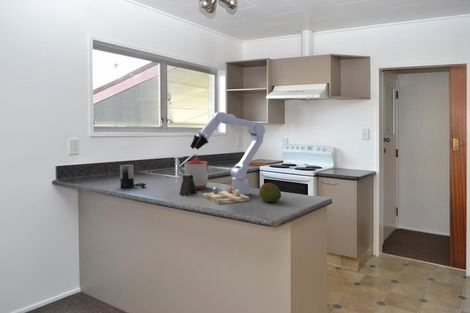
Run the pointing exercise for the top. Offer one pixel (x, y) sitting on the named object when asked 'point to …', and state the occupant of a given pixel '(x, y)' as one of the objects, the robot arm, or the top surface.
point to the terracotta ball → (229, 189)
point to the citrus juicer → (198, 172)
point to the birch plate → (225, 197)
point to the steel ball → (215, 190)
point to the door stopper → (188, 185)
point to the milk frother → (128, 177)
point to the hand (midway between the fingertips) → (193, 148)
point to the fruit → (269, 192)
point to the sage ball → (238, 192)
